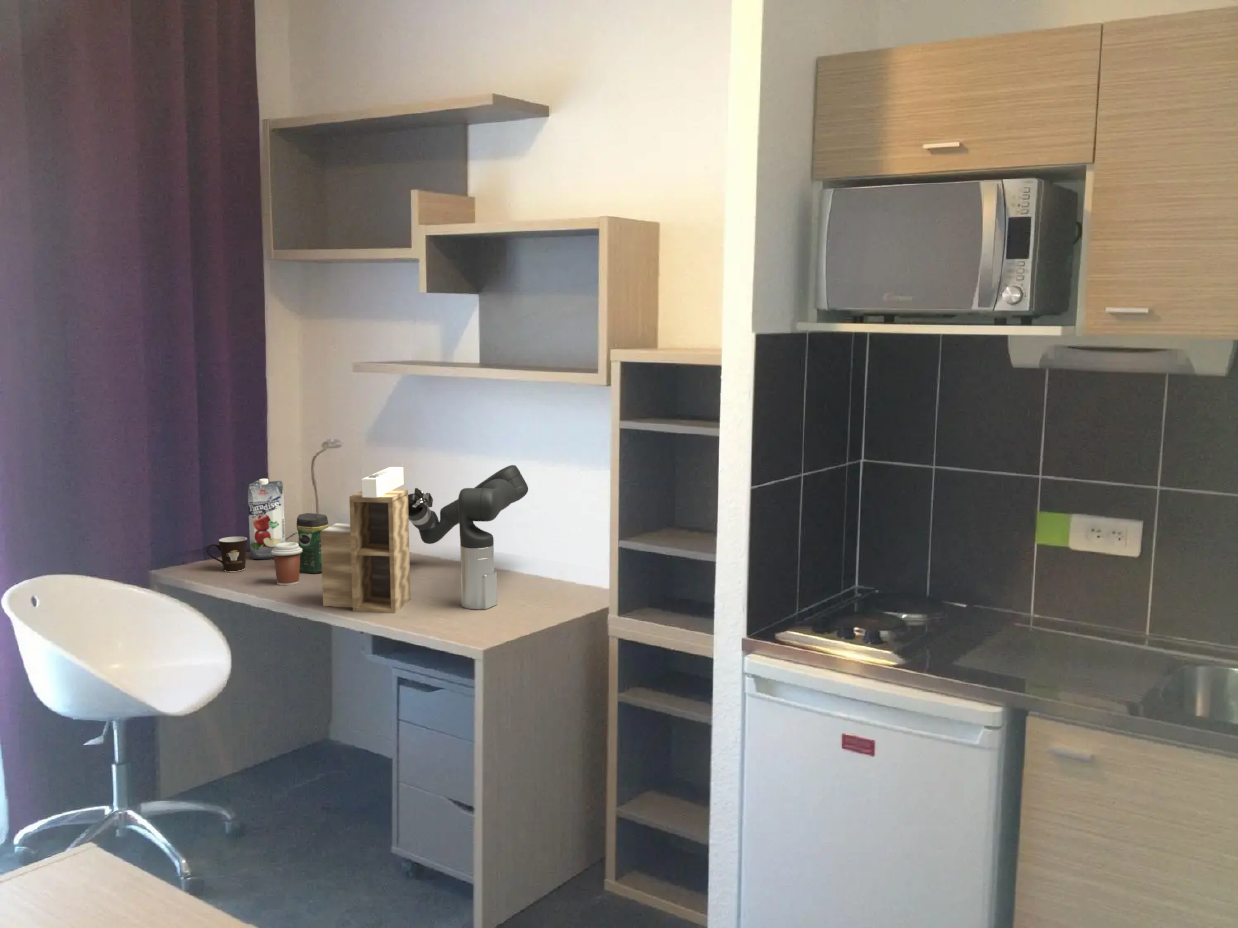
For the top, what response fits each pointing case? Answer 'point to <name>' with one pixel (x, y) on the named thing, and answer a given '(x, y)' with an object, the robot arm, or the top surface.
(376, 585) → the step shelf
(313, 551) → the coffee jar
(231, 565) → the coffee mug
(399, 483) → the white long block
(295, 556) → the coffee cup
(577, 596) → the top surface
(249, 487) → the juice carton
